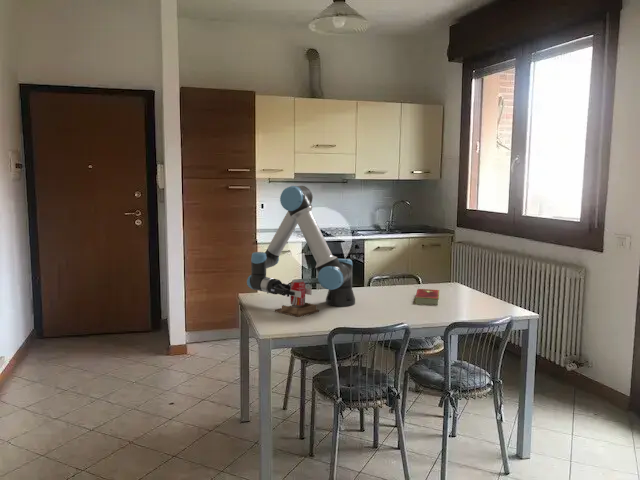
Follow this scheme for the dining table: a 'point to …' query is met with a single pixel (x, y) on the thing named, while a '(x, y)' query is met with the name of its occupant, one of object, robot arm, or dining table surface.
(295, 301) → the soda can
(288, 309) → the keeper cradle
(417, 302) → the hardcover book
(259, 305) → the dining table surface
